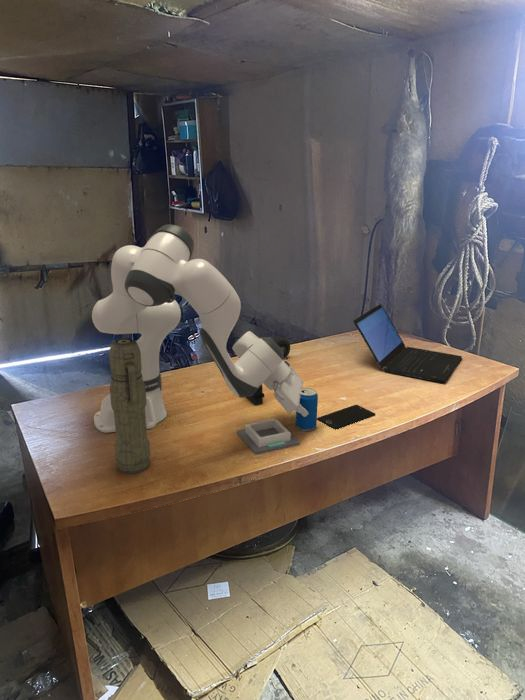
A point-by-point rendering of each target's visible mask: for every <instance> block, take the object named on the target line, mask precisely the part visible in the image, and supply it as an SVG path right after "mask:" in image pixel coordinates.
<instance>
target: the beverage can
mask: <svg viewBox="0 0 525 700" xmlns="http://www.w3.org/2000/svg"><path fill="white" fill-rule="evenodd" d="M300 390H301V391H300V396H301V397H300V402H299V403H300V404H301V406H302V407H303V408H306V409H307V410H308V415H307V416H306V417H304V416H303V415H302V414H301V413H299V412H297V411H295V427H296V428H298V429H299V430H300V431H304V432H309V431H313V430H314V429H315V428H316V427H317V425H318V424H317V422H318V420H317V418H318V403H319V396H318V392H317V390H316V389H315V388H311V387H302V388H301V389H300Z"/></svg>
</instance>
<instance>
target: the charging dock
mask: <svg viewBox="0 0 525 700" xmlns="http://www.w3.org/2000/svg"><path fill="white" fill-rule="evenodd" d="M236 434H237V435H238V437H240V438H241V440H242V441H243V442H244V443H245V445H246V446H247V447H248V448H249V449H250V451H251V452H252V453H253V454H254V455H261V454H265V453H268V452H273V451H278V450H283V449H287V448H291V447H296V446H300V444H301V442H300V441H299V440H298V439H297V438H296V437H295V436H294V435H293V434H292V433H291V431H289V430H288V429H287V428H286V427H285V426H284V425H283V424H282V423H281V422H280V421H279V420H278V419H277V418H272V419H267V420H261V421H257V422H256V421H255V422H251V423H246V424H245V425H244V428H241V429H237V430H236Z"/></svg>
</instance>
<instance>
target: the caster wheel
mask: <svg viewBox="0 0 525 700" xmlns="http://www.w3.org/2000/svg"><path fill="white" fill-rule="evenodd" d="M273 340H274V341H275V342H276V344H277V345H278V346H279V347H280V348H281V349H283V353H284V358H283V360H286V358H287V357H288V356H289V354H290V352H291V344H290V342H289V341H288V340H287V339H285V338H283V337H276V338H275V339H273Z"/></svg>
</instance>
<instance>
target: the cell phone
mask: <svg viewBox="0 0 525 700" xmlns="http://www.w3.org/2000/svg"><path fill="white" fill-rule="evenodd" d="M375 416H376V413H375V412H373V411H371V410H369V409H367V408H365V407H363V406H360V405H358V404H354V405H350V406H347V407H345V408H342V409H338V410H336V411H333V412H330V413H326V414H325V415H321V416H317V422H320V423H321V422H322V424H323V423H324V425H325V424H326V425H325V426H326V427H329V428H330V427H331V428H330V429H332V428H333V429H332V430H334V429H335V430H334V431H337V430H340V429H343V428H346V427H348V426H351V425H354V424H356V423H359V422H361V420H362V421H364V419H365V420H368V419H370V418H372V417H375ZM358 421H359V422H358ZM355 422H356V423H355ZM353 423H354V424H353ZM350 424H351V425H350ZM347 425H348V426H347ZM345 426H346V427H345ZM342 427H343V428H342ZM339 428H340V429H339ZM336 429H337V430H336Z"/></svg>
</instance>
